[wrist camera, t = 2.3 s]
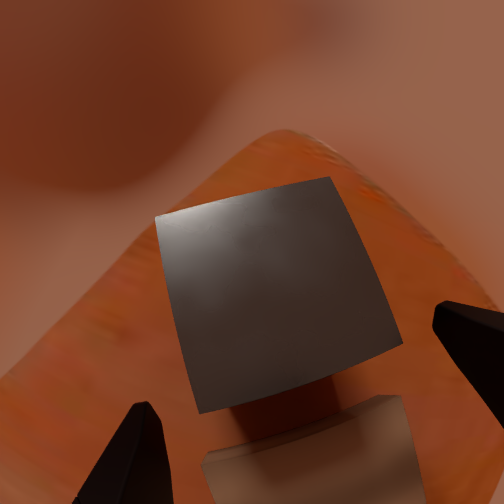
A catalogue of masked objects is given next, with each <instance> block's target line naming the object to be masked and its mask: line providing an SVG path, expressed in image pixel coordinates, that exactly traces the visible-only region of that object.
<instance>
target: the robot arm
mask: <svg viewBox="0 0 504 504" xmlns="http://www.w3.org/2000/svg"><path fill="white" fill-rule="evenodd" d="M432 328H433V331H434V333H435V334H436V335H437V337H438V338H439V340H440V341H441V343H442V344H443V346H444V347H445V349H446V350H447V352H448V354H449V355H450V357H451V358H452V360H453V361H454V363H455V364H456V365H457V367H458V368H459V369H460V371H461V372H462V373H463V374H464V376H465V377H466V378H467V379H468V381H469V382H470V383H471V385H472V386H473V387H474V389H475V390H476V391H477V393H478V394H479V395H480V396H481V398H482V399H483V401H484V402H485V403H486V405H487V406H488V407H489V409H490V410H491V411H492V413H493V414H494V416H495V417H496V418H497V420H498V421H499V423H500V424H501V426H502V427H503V429H504V313H501V312H496V311H492V310H487V309H483V308H479V307H474V306H470V305H465V304H461V303H456V302H452V301H443V302H441V303H439V304H437V305H436V307H435V312H434V317H433V323H432ZM77 496H78V497H75V499H74V501H73V502H72V504H174V502H173V492H172V481H171V471H170V465H169V460H168V455H167V450H166V445H165V439H164V433H163V427H162V423H161V420H160V418H159V417H158V415H157V414H156V412H155V411H154V409H153V407H152V406H151V404H150V403H149V402H147V401H145V402H139V403H135V404H133V405H132V407H131V408H130V410H129V412H128V413H127V415H126V416H125V418H124V420H123V421H122V423H121V424H120V426H119V427H118V429H117V431H116V432H115V434H114V435H113V437H112V439H111V440H110V442H109V444H108V445H107V447H106V448H105V450H104V452H103V453H102V455H101V456H100V458H99V460H98V461H97V463H96V465H95V466H94V468H93V469H92V471H91V473H90V474H89V476H88V478H87V479H86V481H85V483H84V484H83V486H82V487H81V489H80V491H79V492H78V494H77Z"/></svg>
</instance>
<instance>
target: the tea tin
mask: <svg viewBox="0 0 504 504" xmlns="http://www.w3.org/2000/svg"><path fill="white" fill-rule="evenodd" d="M155 222H156V228H157V234H158V240H159V246H160V252H161V258H162V263H163V269H164V274H165V279H166V284H167V289H168V294H169V299H170V303H171V308H172V312H173V317H174V321H175V325H176V330H177V334H178V338H179V342H180V346H181V350H182V354H183V358H184V362H185V366H186V369H187V373H188V377H189V380H190V384H191V387H192V391H193V394H194V398H195V401H196V404H197V408H198V411H199V414H203V413H207V412H211V411H216V410H220V409H224V408H228V407H232V406H236V405H240V404H243V403H247V402H251V401H254V400H258V399H261V398H265V397H268V396H271V395H274V394H278V393H281V392H284V391H287V390H290V389H293V388H296V387H299V386H302V385H305V384H308V383H310V382H313V381H316V380H319V379H321V378H324V377H327V376H329V375H332V374H334V373H337V372H340V371H342V370H345V369H347V368H349V367H352V366H354V365H357V364H359V363H361V362H364V361H366V360H368V359H371V358H373V357H375V356H377V355H379V354H382V353H384V352H386V351H388V350H390V349H392V348H394V347H397V346H399V345H401V344H403V341H402V338H401V336H400V333H399V330H398V327H397V325H396V322H395V319H394V317H393V314H392V311H391V309H390V306H389V304H388V301H387V299H386V296H385V294H384V291H383V289H382V286H381V284H380V281H379V279H378V277H377V274H376V272H375V270H374V267H373V265H372V263H371V260H370V258H369V256H368V254H367V251H366V249H365V247H364V245H363V243H362V240H361V238H360V236H359V234H358V232H357V230H356V228H355V225H354V223H353V221H352V219H351V217H350V215H349V213H348V211H347V209H346V207H345V205H344V203H343V201H342V199H341V197H340V195H339V193H338V191H337V189H336V187H335V186H334V184H333V182H332V180H331V178H330V176H329V177H324V178H319V179H314V180H308V181H304V182H299V183H294V184H289V185H284V186H280V187H275V188H270V189H266V190H261V191H257V192H253V193H248V194H244V195H240V196H235V197H231V198H227V199H223V200H219V201H215V202H211V203H207V204H203V205H199V206H195V207H191V208H187V209H184V210H180V211H176V212H172V213H169V214H165V215H161V216H158V217H155Z"/></svg>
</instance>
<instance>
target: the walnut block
mask: <svg viewBox="0 0 504 504" xmlns="http://www.w3.org/2000/svg"><path fill="white" fill-rule="evenodd" d="M201 467H202V470H203V472H204V475H205V478H206V480H207V483H208V486H209V488H210V491H211V493H212V496H213V498H214V501H215V503H216V504H426V498H425V493H424V488H423V483H422V478H421V473H420V469H419V464H418V460H417V455H416V451H415V447H414V443H413V439H412V435H411V431H410V428H409V424H408V420H407V417H406V413H405V410H404V406H403V403H402V399H401V396H396V395H377V396H375V397H373V398H371V399H369V400H366V401H364V402H362V403H360V404H357V405H355V406H353V407H351V408H348V409H346V410H344V411H341V412H339V413H336V414H334V415H331V416H329V417H326V418H324V419H321V420H318V421H316V422H313V423H310V424H307V425H305V426H302V427H299V428H296V429H293V430H290V431H287V432H284V433H280V434H277V435H274V436H271V437H267V438H264V439H260V440H257V441H253V442H249V443H245V444H241V445H237V446H233V447H229V448H224V449H220V450H215V451H210V452H208V453H207V454H206V456H205V458H204V460H203V462H202V464H201Z"/></svg>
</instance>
